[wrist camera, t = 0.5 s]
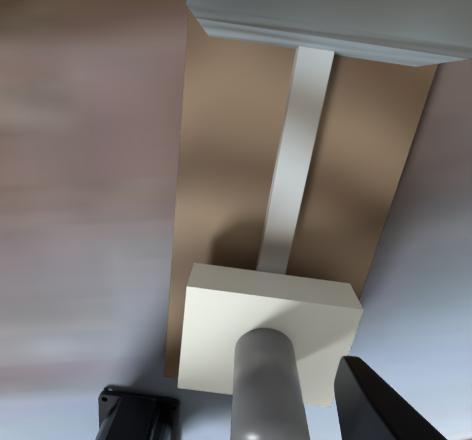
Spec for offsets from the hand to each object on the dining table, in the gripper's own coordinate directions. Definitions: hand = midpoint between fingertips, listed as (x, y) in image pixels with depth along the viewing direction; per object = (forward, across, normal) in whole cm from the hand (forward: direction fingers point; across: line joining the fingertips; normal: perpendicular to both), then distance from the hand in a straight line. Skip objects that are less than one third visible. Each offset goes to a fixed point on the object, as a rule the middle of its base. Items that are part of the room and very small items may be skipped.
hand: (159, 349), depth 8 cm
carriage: (+10, -4, +7) cm, 13 cm away
